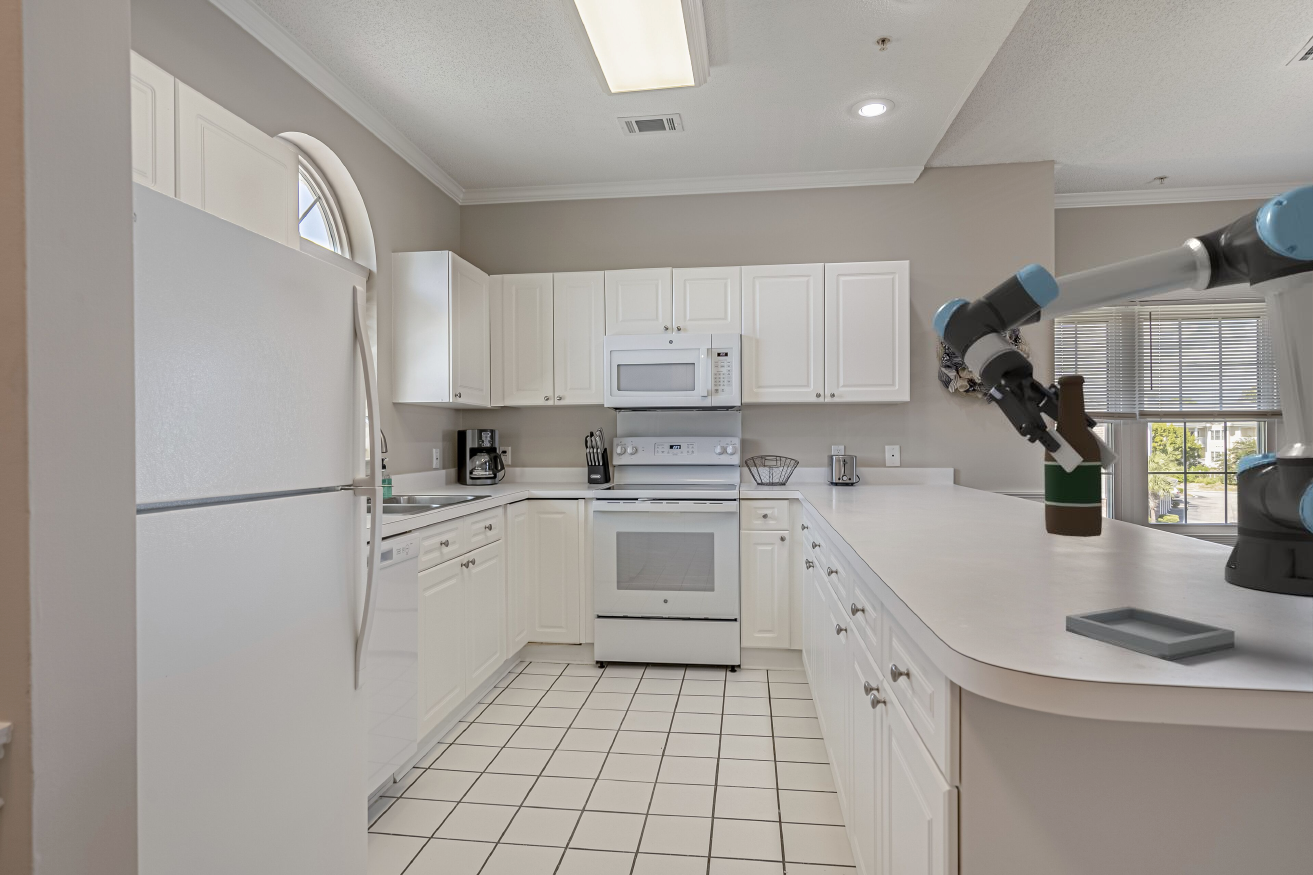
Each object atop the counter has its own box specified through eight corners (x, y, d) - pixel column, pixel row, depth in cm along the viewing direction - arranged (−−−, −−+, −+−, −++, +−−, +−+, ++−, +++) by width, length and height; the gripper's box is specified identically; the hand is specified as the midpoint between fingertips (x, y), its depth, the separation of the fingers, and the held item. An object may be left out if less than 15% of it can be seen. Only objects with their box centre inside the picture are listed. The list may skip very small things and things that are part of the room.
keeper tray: (1128, 619, 96) (1128, 606, 96) (1234, 646, 84) (1234, 631, 84) (1066, 630, 92) (1066, 615, 92) (1168, 660, 80) (1168, 643, 80)
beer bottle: (1085, 529, 105) (1084, 377, 105) (1114, 537, 97) (1112, 373, 97) (1034, 529, 106) (1032, 378, 106) (1058, 537, 98) (1056, 374, 98)
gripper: (1028, 383, 119) (1121, 478, 104) (941, 382, 112) (1029, 484, 97) (1055, 350, 114) (1157, 445, 99) (966, 346, 107) (1062, 449, 92)
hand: (1094, 464), depth 98 cm, fingers closed on beer bottle, 7 cm apart
